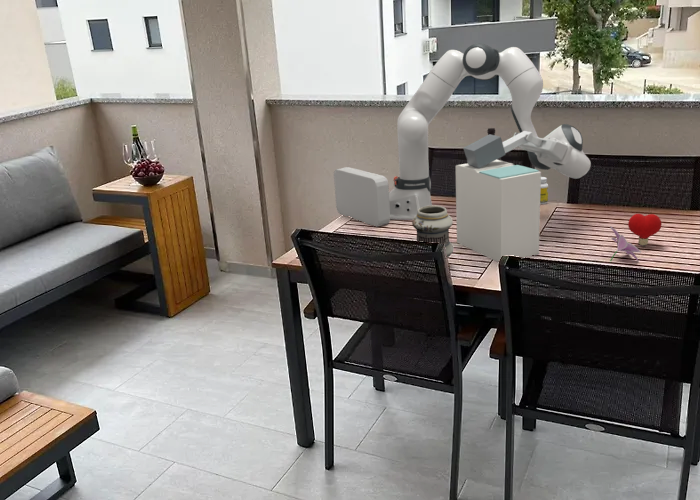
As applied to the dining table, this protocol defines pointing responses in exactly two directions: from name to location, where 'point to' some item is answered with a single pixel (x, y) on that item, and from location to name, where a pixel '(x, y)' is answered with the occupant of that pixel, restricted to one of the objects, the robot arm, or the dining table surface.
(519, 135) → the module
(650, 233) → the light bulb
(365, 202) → the rounded white slab
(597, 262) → the dining table surface
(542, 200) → the supplement bottle
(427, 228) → the apothecary jar
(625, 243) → the lily
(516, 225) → the stand
